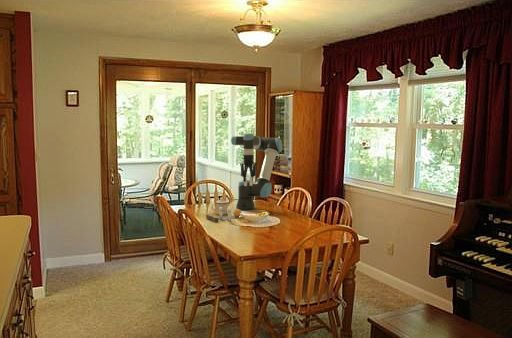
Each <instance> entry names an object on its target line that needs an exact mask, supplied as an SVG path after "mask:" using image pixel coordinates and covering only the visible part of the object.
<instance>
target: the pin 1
mask: <svg viewBox="0 0 512 338" xmlns="http://www.w3.org/2000/svg"><path fill="white" fill-rule="evenodd" d="M223 217H224V215H223V207H219V215H218V218H219V219H218V220H220V219H223Z"/></svg>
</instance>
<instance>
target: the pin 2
mask: <svg viewBox="0 0 512 338" xmlns="http://www.w3.org/2000/svg"><path fill="white" fill-rule="evenodd" d="M231 216H232V208H227V217H228V220H227V221H228V222H231V221H232V219H231Z"/></svg>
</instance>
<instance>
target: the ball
mask: <svg viewBox="0 0 512 338" xmlns="http://www.w3.org/2000/svg"><path fill="white" fill-rule="evenodd" d="M240 213H241V214H242V210H239V209H234V210H233V216H235V217H239V216H240Z"/></svg>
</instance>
